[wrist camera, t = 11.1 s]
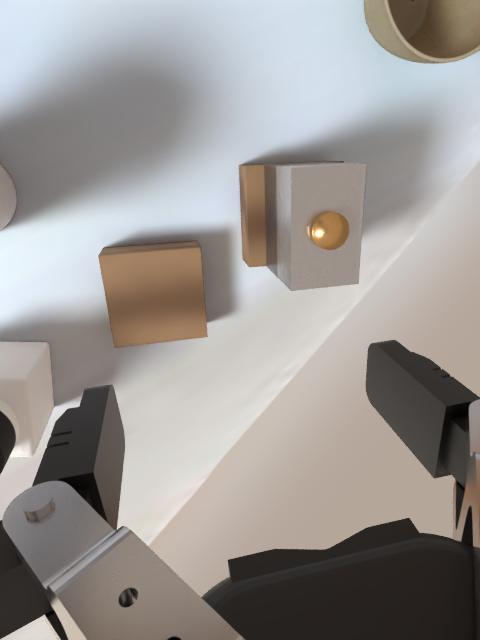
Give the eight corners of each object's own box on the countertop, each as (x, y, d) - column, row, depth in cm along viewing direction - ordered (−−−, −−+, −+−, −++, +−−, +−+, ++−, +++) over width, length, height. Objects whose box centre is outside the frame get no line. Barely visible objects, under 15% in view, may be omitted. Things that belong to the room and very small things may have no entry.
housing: (264, 165, 31) (295, 168, 24) (325, 162, 32) (372, 163, 25) (266, 266, 34) (294, 294, 27) (322, 260, 35) (363, 286, 28)
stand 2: (238, 165, 34) (245, 166, 31) (329, 161, 35) (343, 161, 32) (242, 259, 37) (249, 267, 34) (325, 251, 38) (338, 259, 35)
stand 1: (103, 247, 34) (98, 255, 31) (197, 240, 35) (200, 247, 33) (118, 333, 37) (114, 347, 34) (204, 324, 38) (207, 336, 36)
